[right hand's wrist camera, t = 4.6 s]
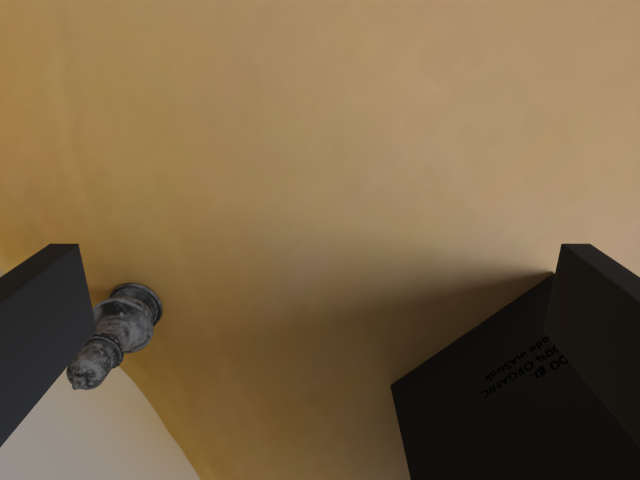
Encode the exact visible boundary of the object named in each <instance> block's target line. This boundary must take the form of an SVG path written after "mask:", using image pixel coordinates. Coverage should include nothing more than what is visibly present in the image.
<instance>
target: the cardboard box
mask: <svg viewBox="0 0 640 480" xmlns="http://www.w3.org/2000/svg"><path fill="white" fill-rule="evenodd" d="M554 277H555V274H553V275H552V276H550V277H549V278H547V279H546V280H545V281H543V282H542V283H540V284H539V285H537V286H536V287H534V288H533V289H531V290H530V291H528V292H527V293H526V294H524V295H523V296H521V297H520V298H518V299H517V300H515V301H514V302H512V303H511V304H510V305H508V306H507V307H505V308H504V309H502V310H501V311H499V312H498V313H496V314H495V315H493V316H492V317H491V318H489V319H488V320H486V321H485V322H483V323H482V324H480V325H479V326H477V327H476V328H475V329H473V330H472V331H470V332H469V333H467V334H466V335H464V336H463V337H461V338H460V339H458V340H457V341H456V342H454V343H453V344H451V345H450V346H448V347H447V348H445V349H444V350H442V351H441V352H439V353H438V354H437V355H435V356H434V357H432V358H431V359H429V360H428V361H426V362H425V363H423V364H422V365H421V366H419V367H418V368H416V369H415V370H413V371H412V372H410V373H409V374H407V375H406V376H404V377H403V378H402V379H400V380H399V381H397V382H396V383H394V384H393V385H391V390H392V395H393V400H394V404H395V409H396V413H397V418H398V423H399V427H400V432H401V436H402V441H403V446H404V450H405V455H406V459H407V464H408V469H409V473H410V478H411V480H640V447H639V446H638V445H637V443H636V442H635V441H634V440H633V439H632V437H631V436H630V435H629V434H628V432H627V431H626V430H625V429H624V428H623V426H622V425H621V424H620V423H619V422H618V420H617V419H616V418H615V417H614V416H613V414H612V413H611V412H610V411H609V410H608V408H607V407H606V406H605V405H604V404H603V402H602V401H601V400H600V399H599V398H598V396H597V395H596V394H595V393H594V391H593V390H592V389H591V388H590V387H589V385H588V384H587V383H586V382H585V381H584V379H583V378H582V377H581V376H580V375H579V373H578V372H577V371H576V370H575V369H574V367H573V366H572V365H571V364H570V363H569V361H568V360H567V359H566V358H565V357H564V355H563V354H562V353H561V352H560V350H559V349H558V348H557V347H556V346H555V344H554V343H553V342H552V341H551V340H550V338H549V337H548V336H547V335H546V334H545V332H544V331H543V328H544V323H545V319H546V314H547V309H548V305H549V300H550V296H551V291H552V286H553V282H554Z"/></svg>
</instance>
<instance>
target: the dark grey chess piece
mask: <svg viewBox="0 0 640 480" xmlns="http://www.w3.org/2000/svg"><path fill="white" fill-rule="evenodd" d="M93 314H94V319H95V323H96V328H97V331H96V332H95V334H94V335H93V336H92V337H91V338H90V340H89V341H88V342H87V343H86V344H85V346H84V347H83V348H82V349H81V350H80V352H79V353H78V354H77V355H76V357H75V358H74V359H73V360H72V361H71V363H70V364H69V365H68V368H67V377H68V380H69V381H70V383H71V384H72V387H73V389H74V390H76V389H84V390H89V389H93V388H96V387H98V386H99V385H100V384H101V383H102V382H103V381H104V379H105V378H106V376H107V375H108V373H109V372H110V370H111V369H112V368H115V367H117V366H119V365H120V363H121V362H122V361H123V358H124V353H133V352H137V351H140V350H141V349H143V348H144V347H146V346H147V344H148V343H149V342H150V341H151V338H152V336H153V326H155V325H156V324H157V323H158V321H159V320H160V318H161V315H162V305H161V302H160V300H159V298H158V296H157V295H156V294H155V293H154V292H153V291H152V290H150V289H149V288H147V287H145V286H142V285H140V284H133V283H131V284H124V285H121V286H119V287H117V288H116V289H114V291H113V292H112V293H111V294H110V297H109V299H107V300H104V301H101V302H100V303H98V304H97V305H95V307H94V308H93Z"/></svg>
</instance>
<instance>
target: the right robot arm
mask: <svg viewBox="0 0 640 480" xmlns="http://www.w3.org/2000/svg"><path fill="white" fill-rule="evenodd" d="M96 331H97V328H96V323H95V319H94V314H93V309H92V305H91V300H90V296H89V291H88V286H87V282H86V277H85V272H84V268H83V263H82V258H81V254H80V249H79V245H78V244H49V245H48V246H46V247H45V248H43V249H42V250H40V251H39V252H37V253H36V254H34V255H33V256H31V257H30V258H28V259H27V260H25V261H24V262H22V263H21V264H19V265H18V266H17V267H15V268H14V269H12V270H11V271H9V272H8V273H6V274H5V275H3V276H2V277H0V447H1V446H2V445H3V443H4V442H5V441H6V440H7V438H8V437H9V436H10V435H11V434H12V432H13V431H14V430H15V429H16V428H17V426H18V425H19V424H20V423H21V422H22V420H23V419H24V418H25V417H26V416H27V414H28V413H29V412H30V411H31V410H32V408H33V407H34V406H35V405H36V404H37V402H38V401H39V400H40V399H41V397H42V396H43V395H44V394H45V393H46V391H47V390H48V389H49V388H50V387H51V385H52V384H53V383H54V382H55V381H56V379H57V378H58V377H59V376H60V375H61V373H62V372H63V371H64V370H65V369H66V367H67V366H68V365H69V364H70V363H71V361H72V360H73V359H74V358H75V357H76V355H77V354H78V353H79V352H80V350H81V349H82V348H83V347H84V346H85V344H86V343H87V342H88V341H89V340H90V338H91V337H92V336H93V335H94V334H95V332H96ZM543 331H544V332H545V334H546V335H547V336H548V337H549V338H550V340H551V341H552V342H553V343H554V344H555V346H556V347H557V348H558V349H559V350H560V352H561V353H562V354H563V355H564V357H565V358H566V359H567V360H568V361H569V363H570V364H571V365H572V366H573V367H574V369H575V370H576V371H577V372H578V373H579V375H580V376H581V377H582V378H583V379H584V381H585V382H586V383H587V384H588V385H589V387H590V388H591V389H592V390H593V391H594V393H595V394H596V395H597V396H598V398H599V399H600V400H601V401H602V402H603V404H604V405H605V406H606V407H607V408H608V410H609V411H610V412H611V413H612V414H613V416H614V417H615V418H616V419H617V420H618V422H619V423H620V424H621V425H622V426H623V428H624V429H625V430H626V431H627V432H628V434H629V435H630V436H631V437H632V439H633V440H634V441H635V442H636V443H637V445H638V446H639V447H640V277H638V276H637V275H635V274H634V273H632V272H631V271H629V270H628V269H626V268H625V267H623V266H622V265H621V264H619V263H618V262H616V261H615V260H613V259H612V258H610V257H609V256H607V255H606V254H604V253H603V252H601V251H600V250H598V249H597V248H595V247H594V246H592V245H591V244H562V245H561V249H560V254H559V258H558V263H557V268H556V272H555V277H554V282H553V286H552V291H551V296H550V300H549V305H548V309H547V314H546V319H545V323H544V328H543Z"/></svg>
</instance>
